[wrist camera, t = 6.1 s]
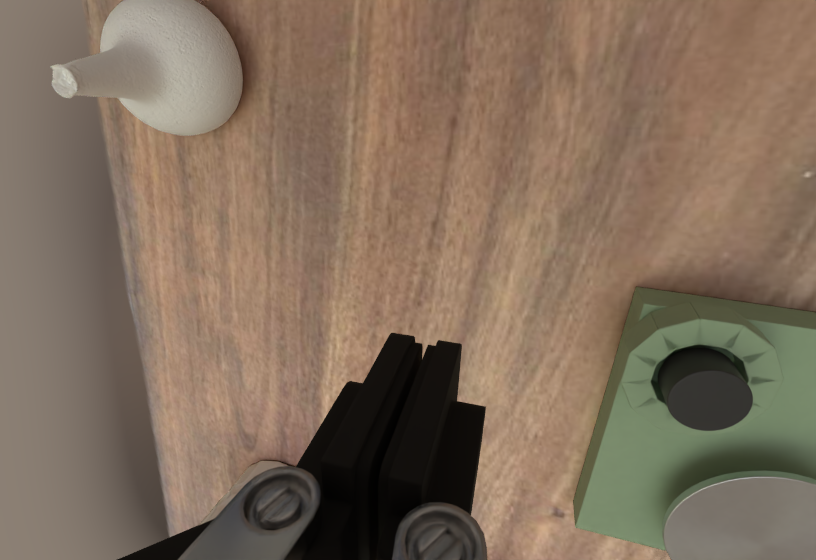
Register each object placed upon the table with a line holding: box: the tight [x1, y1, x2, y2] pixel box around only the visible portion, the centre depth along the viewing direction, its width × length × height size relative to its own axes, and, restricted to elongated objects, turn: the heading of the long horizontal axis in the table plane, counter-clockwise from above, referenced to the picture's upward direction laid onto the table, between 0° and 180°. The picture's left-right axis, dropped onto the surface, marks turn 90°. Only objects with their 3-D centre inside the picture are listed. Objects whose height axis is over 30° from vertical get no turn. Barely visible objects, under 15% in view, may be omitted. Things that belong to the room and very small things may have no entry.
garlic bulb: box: [51, 0, 243, 136], centre depth 20 cm, size 6×6×8 cm
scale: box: [573, 287, 816, 551], centre depth 22 cm, size 16×12×4 cm
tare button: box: [658, 347, 753, 431], centre depth 19 cm, size 3×3×2 cm
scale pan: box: [662, 470, 816, 560], centre depth 21 cm, size 8×8×1 cm
